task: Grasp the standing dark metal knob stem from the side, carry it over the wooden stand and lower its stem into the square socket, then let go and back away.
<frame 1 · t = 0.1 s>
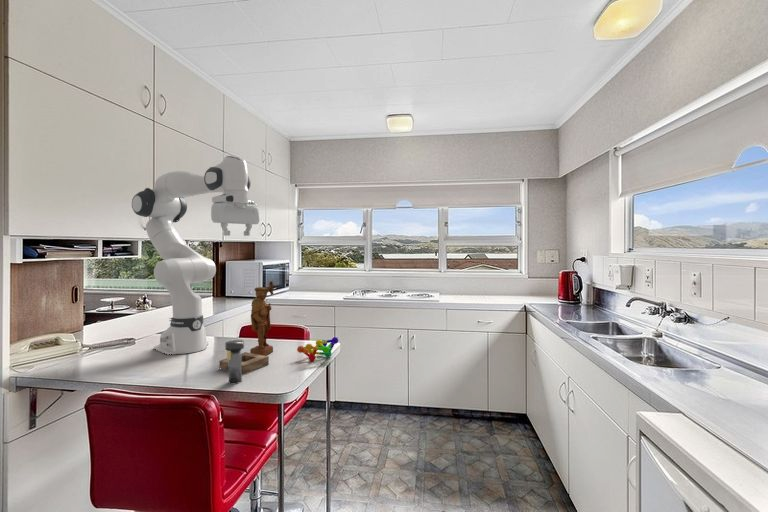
hand: (237, 235, 148), 48 cm above the breakfast bar, tool pointing down, fingers open, 8 cm apart
sculpture: (263, 354, 158), on the breakfast bar
knob stem: (235, 381, 127), on the breakfast bar
decorative model: (318, 358, 152), on the breakfast bar
wooden stand: (244, 366, 142), on the breakfast bar
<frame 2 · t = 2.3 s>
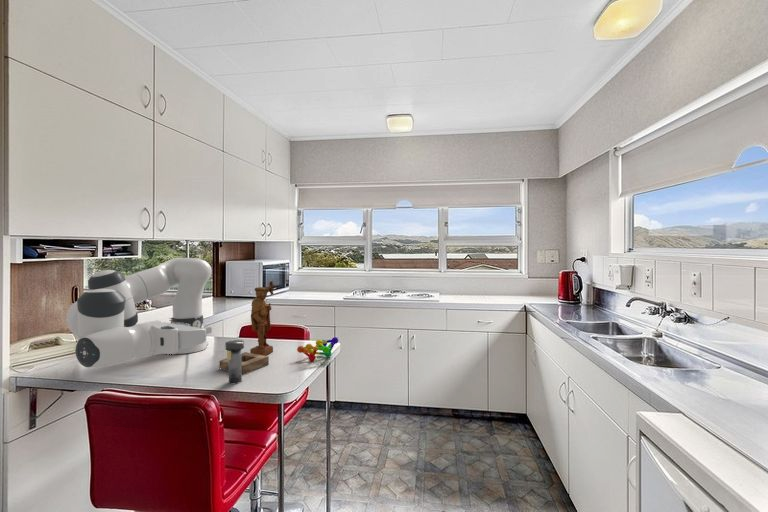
hand: (199, 327, 115), 20 cm above the breakfast bar, tool horizontal, fingers open, 8 cm apart
nothing on the breakfast bar moved.
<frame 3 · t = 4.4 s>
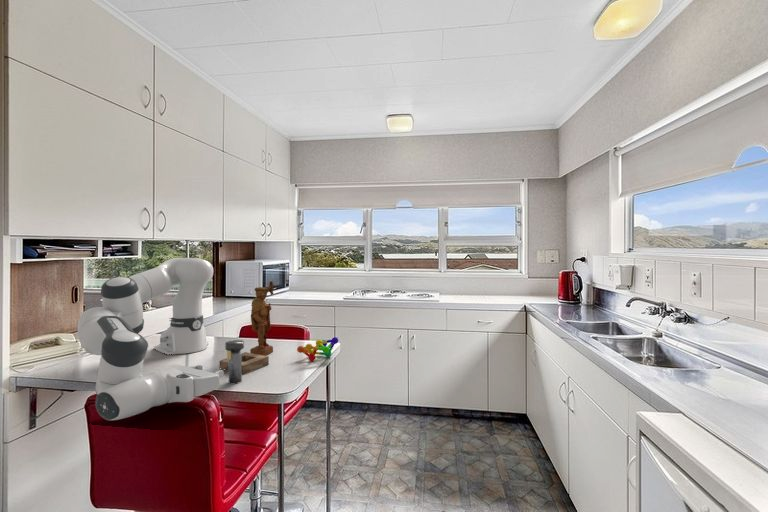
hand: (211, 370, 118), 7 cm above the breakfast bar, tool horizontal, fingers open, 8 cm apart
nothing on the breakfast bar moved.
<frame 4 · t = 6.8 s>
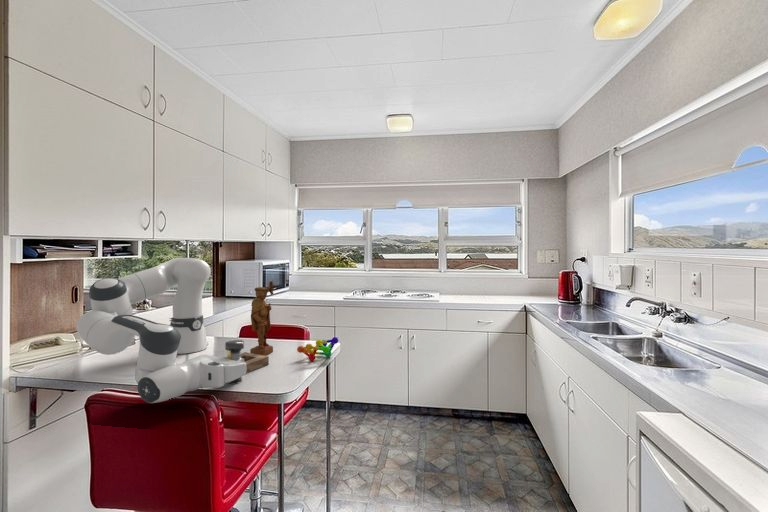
hand: (237, 359, 127), 7 cm above the breakfast bar, tool horizontal, fingers closed on knob stem, 4 cm apart
knob stem: (235, 381, 127), on the breakfast bar, touching gripper
everything else where it was.
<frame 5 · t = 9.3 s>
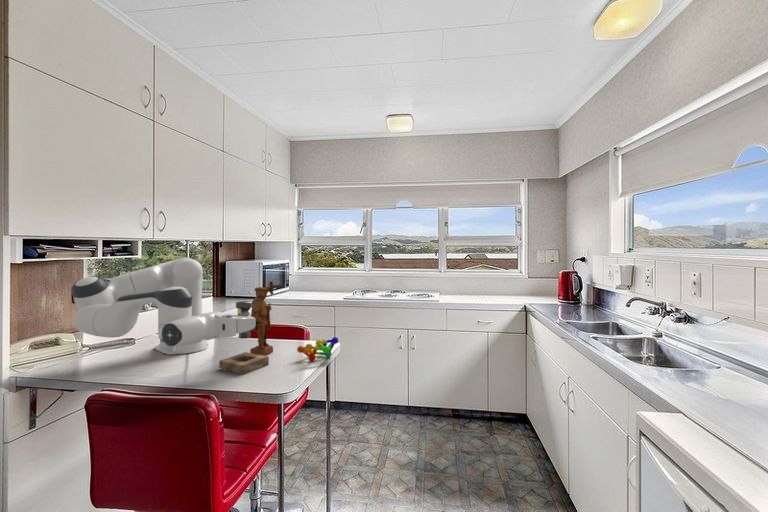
hand: (246, 317, 142), 18 cm above the breakfast bar, tool horizontal, fingers closed on knob stem, 4 cm apart
knob stem: (244, 337, 141), point 11 cm above the breakfast bar, touching gripper
everything else where it was.
when the fingers open (8 cm above the breakfast bar, at t = 11.9 s): knob stem drops 1 cm, resting in wooden stand.
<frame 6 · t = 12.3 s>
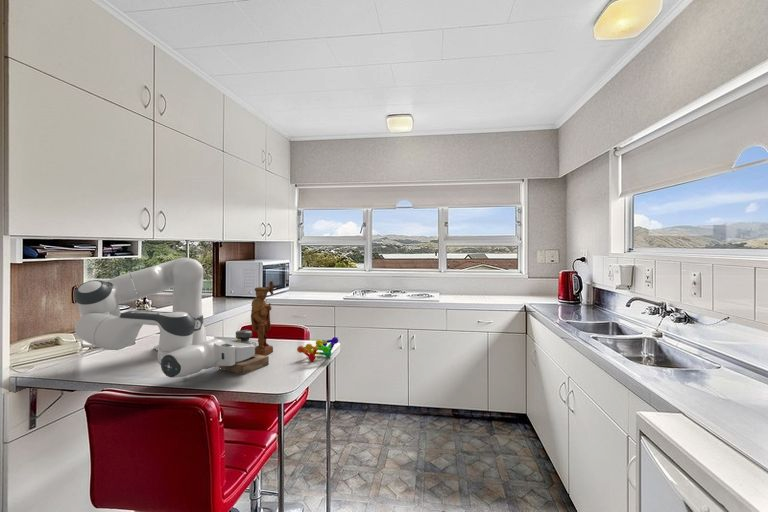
hand: (246, 343, 142), 8 cm above the breakfast bar, tool horizontal, fingers open, 8 cm apart
knob stem: (244, 366, 142), resting in wooden stand
everything else where it was.
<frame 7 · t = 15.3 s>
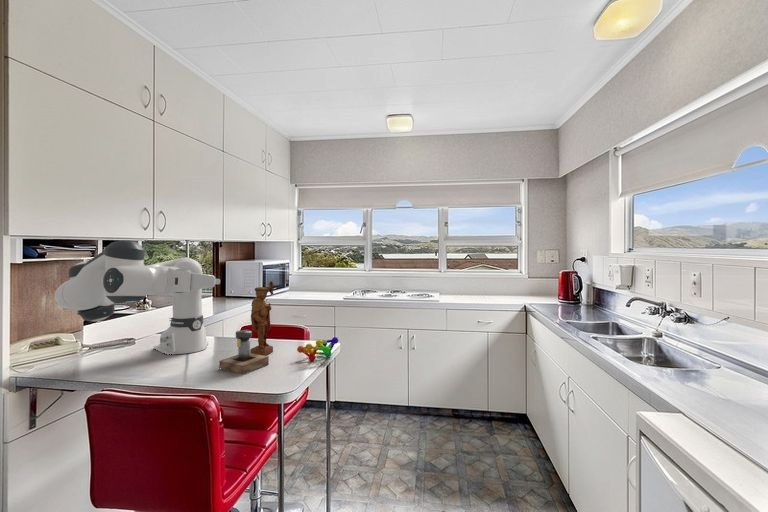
hand: (209, 281, 129), 33 cm above the breakfast bar, tool horizontal, fingers open, 8 cm apart
nothing on the breakfast bar moved.
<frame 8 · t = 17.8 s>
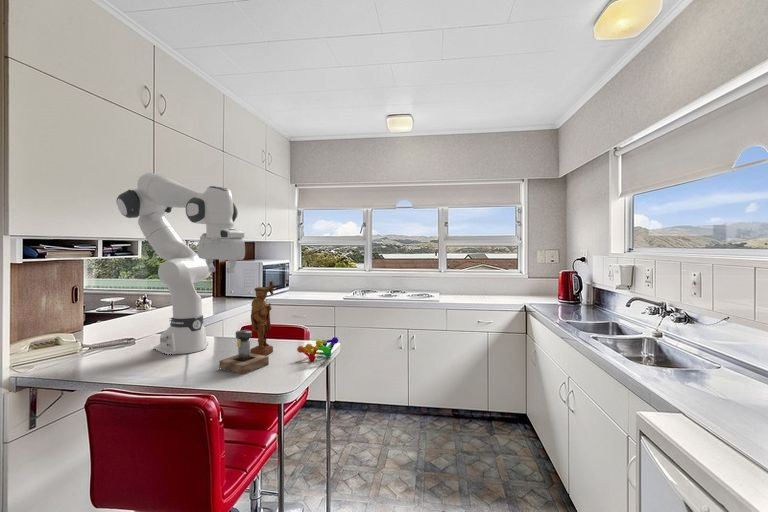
hand: (221, 272, 136), 35 cm above the breakfast bar, tool pointing down, fingers open, 8 cm apart
nothing on the breakfast bar moved.
at the end: knob stem 0.1 cm off-centre on the wooden stand, point 0.0 cm above the wooden stand's base; knob stem tilted 0°; the gripper is holding nothing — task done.
